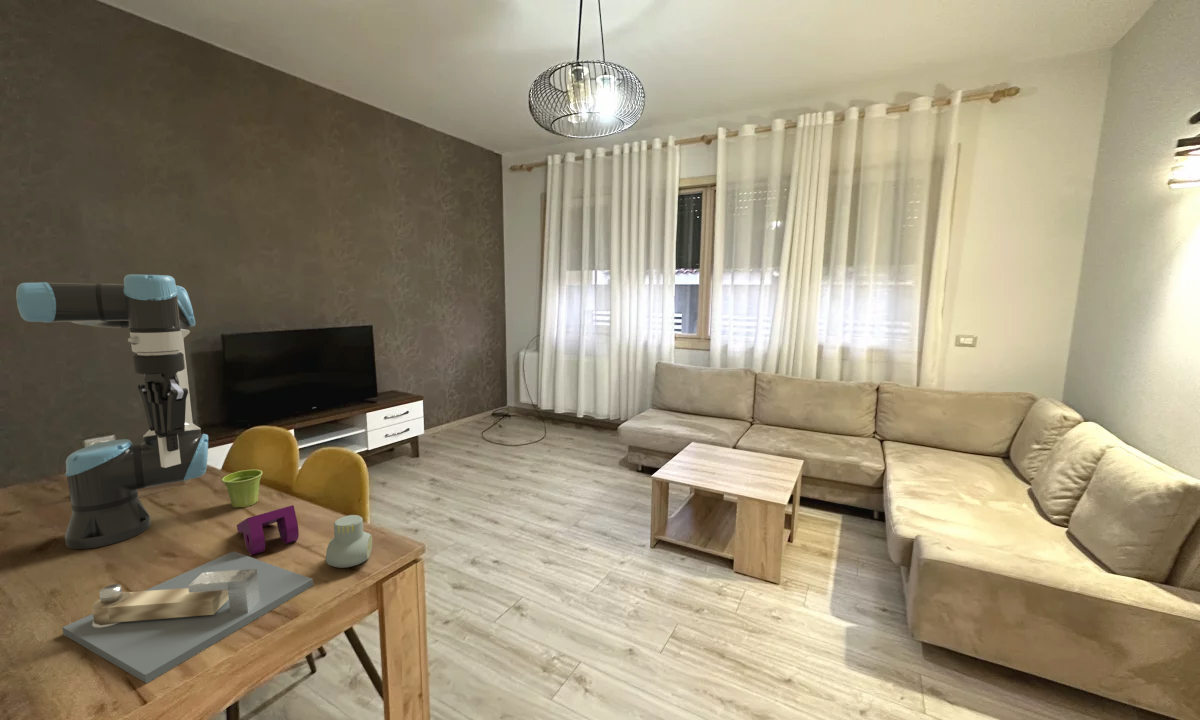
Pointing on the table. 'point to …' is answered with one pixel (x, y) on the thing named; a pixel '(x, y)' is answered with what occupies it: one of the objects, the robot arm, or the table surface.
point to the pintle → (109, 600)
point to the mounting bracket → (254, 524)
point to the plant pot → (243, 487)
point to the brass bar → (159, 605)
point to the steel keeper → (231, 587)
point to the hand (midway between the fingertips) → (171, 465)
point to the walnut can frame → (159, 488)
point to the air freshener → (349, 543)
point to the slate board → (184, 621)
